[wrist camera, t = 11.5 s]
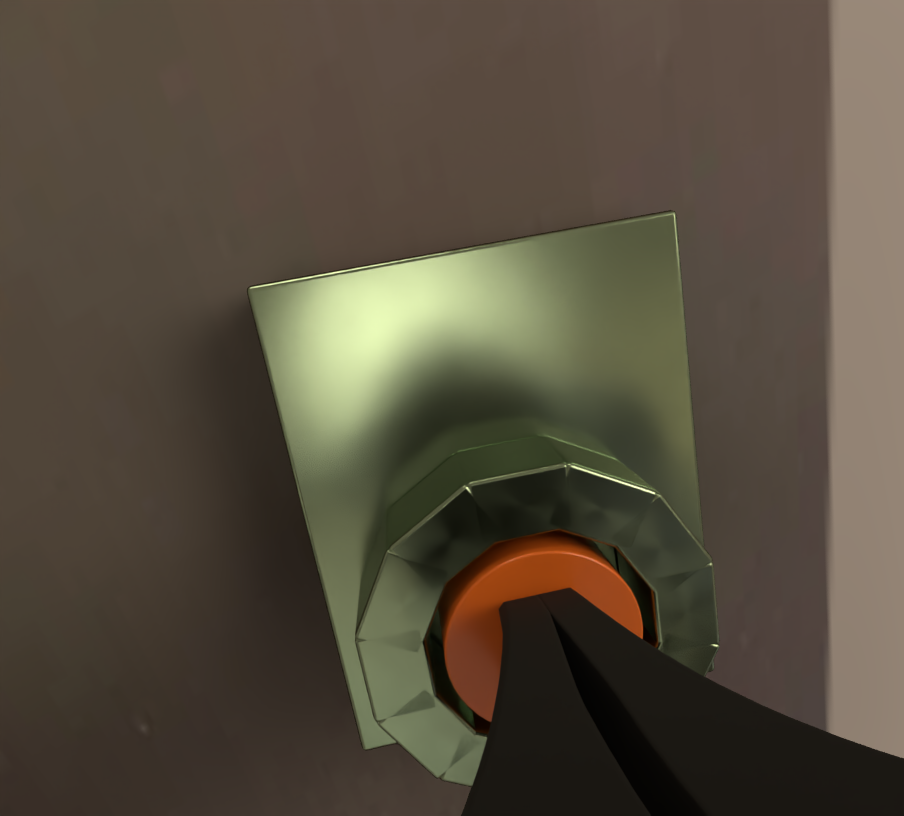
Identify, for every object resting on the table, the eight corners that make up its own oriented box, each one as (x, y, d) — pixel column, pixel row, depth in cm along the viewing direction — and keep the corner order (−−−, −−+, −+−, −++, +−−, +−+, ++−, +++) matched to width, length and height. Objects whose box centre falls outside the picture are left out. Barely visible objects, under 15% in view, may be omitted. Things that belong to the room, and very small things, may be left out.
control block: (269, 285, 13) (214, 288, 9) (630, 220, 13) (732, 195, 9) (368, 693, 15) (360, 840, 11) (671, 625, 15) (767, 742, 11)
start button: (422, 532, 12) (426, 576, 10) (598, 495, 12) (633, 532, 10) (453, 687, 12) (463, 753, 11) (618, 651, 13) (653, 708, 11)
